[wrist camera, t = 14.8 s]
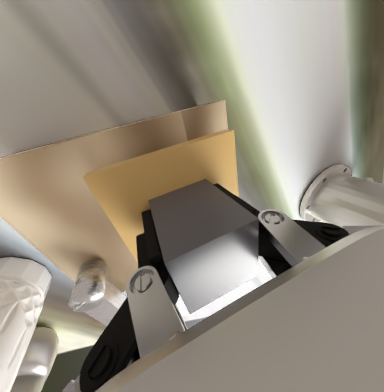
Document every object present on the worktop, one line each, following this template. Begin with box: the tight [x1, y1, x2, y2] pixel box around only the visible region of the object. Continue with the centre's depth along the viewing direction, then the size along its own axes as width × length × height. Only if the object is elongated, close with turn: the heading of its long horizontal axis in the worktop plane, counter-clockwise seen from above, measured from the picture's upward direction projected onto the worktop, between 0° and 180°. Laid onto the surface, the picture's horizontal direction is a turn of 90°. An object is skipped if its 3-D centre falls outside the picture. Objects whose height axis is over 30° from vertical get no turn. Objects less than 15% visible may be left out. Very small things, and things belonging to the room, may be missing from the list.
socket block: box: [0, 100, 228, 292], centre depth 15 cm, size 16×14×5 cm
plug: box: [83, 129, 259, 314], centre depth 10 cm, size 9×9×9 cm
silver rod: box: [69, 260, 127, 326], centre depth 16 cm, size 21×2×3 cm, turn 16°
